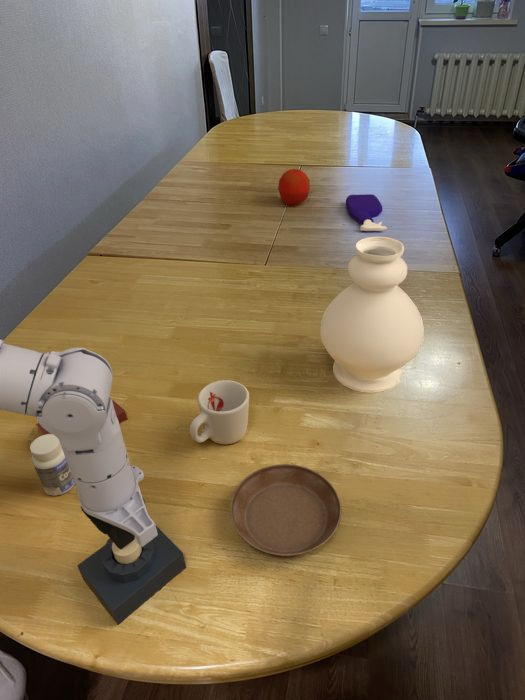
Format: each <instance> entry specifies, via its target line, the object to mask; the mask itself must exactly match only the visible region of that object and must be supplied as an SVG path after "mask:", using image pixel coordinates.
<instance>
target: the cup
mask: <svg viewBox="0 0 525 700" xmlns="http://www.w3.org/2000/svg"><path fill="white" fill-rule="evenodd" d="M197 404H198V405H197V406H198V408H199V411H200V413H199V414H198V415H197V416H195V417H194V419H193V420H192V421H191V422H190V425H189V434H190V437H191V439H192V440H193V441H195V442H196V443H198V444H200V443H204V442H205V441H207V440H208V439H210V440H211V441H212V442H214V443H216V444H219V445H231V444H235V443H237V442H239V441H240V440H242V439H243V438H244V437H245V435H246V433H247V430H248V423H249V411H250V410H249V409H250V392H249V390H248V388H247V387H246V386H245V385H244V384H243V383H240V382H238V381H235V380H229V379H222V380H221V379H220V380H216V381H213V382H211V383H208V384H207V385H205V386H204V387H202V389H201V390H200V391H199V393H198V396H197ZM202 424H203V429H202V431H201V433H200V434H198V433H199V431H198V430H199V428H200V426H202Z"/></svg>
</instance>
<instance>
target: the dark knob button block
mask: <svg viewBox="0 0 525 700" xmlns="http://www.w3.org/2000/svg"><path fill="white" fill-rule="evenodd" d="M156 529H157V533H158V535H157V536H156V537H155V538H153V539H152V540H151V541H150V542H149V543H147V544H146V545H144V546H143V547H141V548H142V551H141V554H140V556H139V558H138V559H137V560H136V561H134V562H132V563H130V564H121V563H119V562H117V560H116V559H115V556H114V553H113V551H112V544H113V541H112V540H111V539H110V538H108V539H107V541H106V543H105V544H104V545H103V546H102V547H100V548H99V549H97V550H96V551H94V552H93V553H92V554H90V555H89V556H87V558H85V559H84V560H82V561H81V562H80V563H78V564H77V565H76V566H77V569H78V572H79V573H80V577H81V579H82V581H83V582H84V583H85V584H86V587H88V589H89V590H90V591H91V592H92V594H93V595H94V596H95V597H96V599H97V600H98V601H99V603H100V604H101V605H102V607H103V608H104V609H105V610H106V612H107V613H108V614H109V616H110V617H111V618H112V620H113V621H114V622H115V624H116V625H117V626H119V625H120V624H121V623H123V622H124V621H125V620H126V619H127V618H128V617H130V616H131V615H132V614H133V613H134V612H135V611H137V610H138V609H139V608H140V607H141V606H143V605H144V604H145V603H146V602H147V601H149V599H151V598H152V597H153V596H154V595H155V594H157V593H158V592H159V591H160V590H161V589H163V588H164V587H165V586H166V585H167V584H169V583H171V581H172V580H173V579H175V578H176V577H177V576H178V575H179V574H180V573H181V572H183V571H184V570H185V569H187V565H186V560H185V559H186V558H185V555H184V552H183V551H182V550H181V549H180V548H179V547H178V546H177V545H176V544H175V543H174V541H173V540H172V539H170V537H168V536H167V535H166V533H164V531H163V530H161V529H160V528H159V527H158V525H156Z"/></svg>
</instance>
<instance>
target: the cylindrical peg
mask: <svg viewBox="0 0 525 700" xmlns="http://www.w3.org/2000/svg"><path fill="white" fill-rule="evenodd" d="M112 551H113V553H114V556H115V559H116V560H117V562H119V563H121V564H130V563H132V562H134V561H136V560H137V559H138V558H139V556H140V554H141V551H142V548H141V546H140V545H139V544H138V543H137V540H136V537H135V539H134V540H133V541H132V542H131V543H129V544H128V545H127V546H125V547H124V548H123V549H119V548H118V547H117V546H116V545H115V544H114V543H113V544H112Z"/></svg>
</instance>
